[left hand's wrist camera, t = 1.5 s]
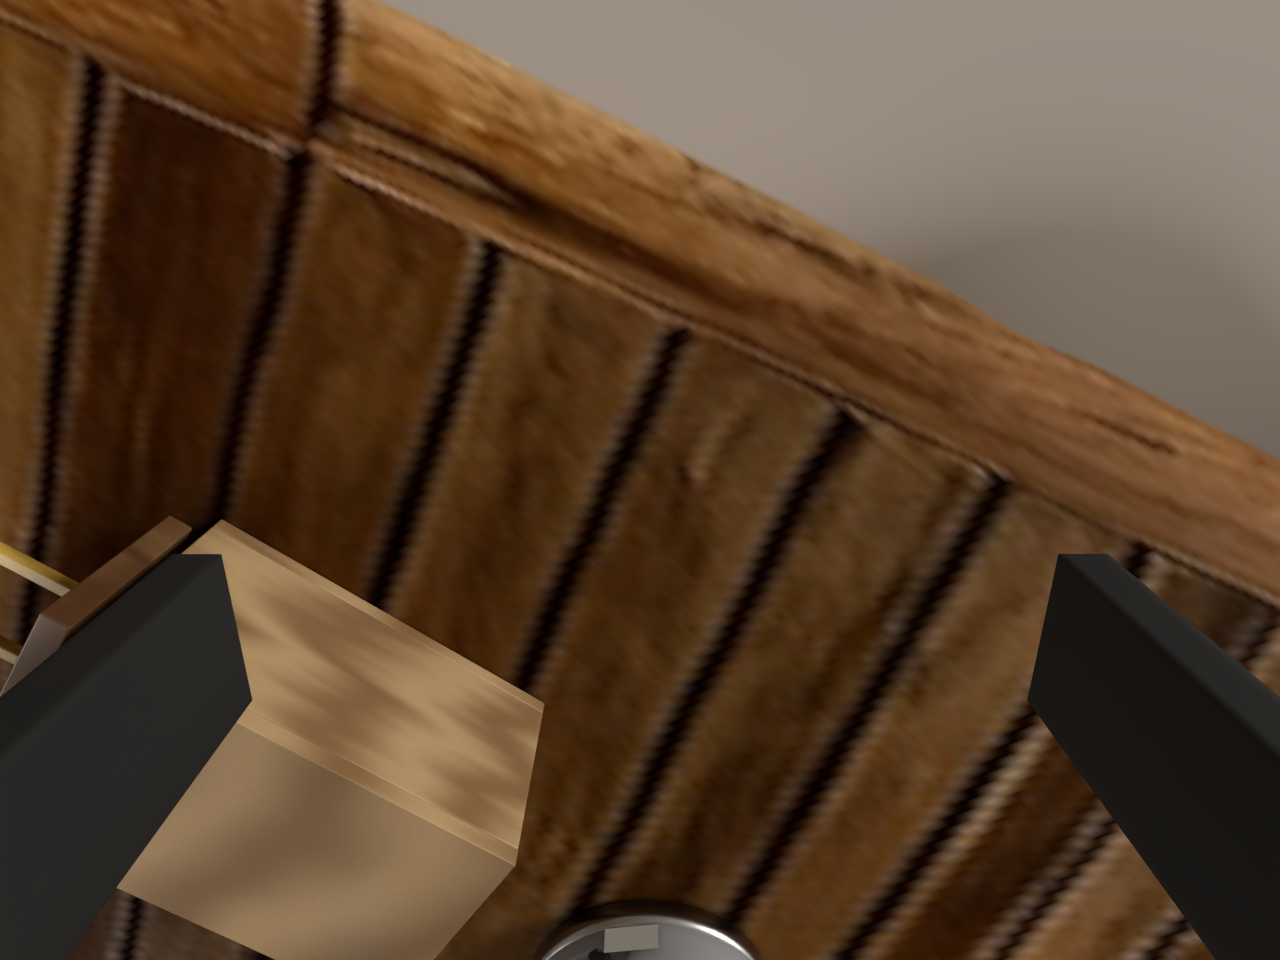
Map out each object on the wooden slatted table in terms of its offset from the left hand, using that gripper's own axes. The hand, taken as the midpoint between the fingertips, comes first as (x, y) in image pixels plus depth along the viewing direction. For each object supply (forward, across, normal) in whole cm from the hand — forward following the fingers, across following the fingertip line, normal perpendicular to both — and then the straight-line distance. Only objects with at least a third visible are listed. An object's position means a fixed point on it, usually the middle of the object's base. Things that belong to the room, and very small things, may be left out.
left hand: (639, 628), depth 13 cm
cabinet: (+25, +16, +19) cm, 35 cm away
